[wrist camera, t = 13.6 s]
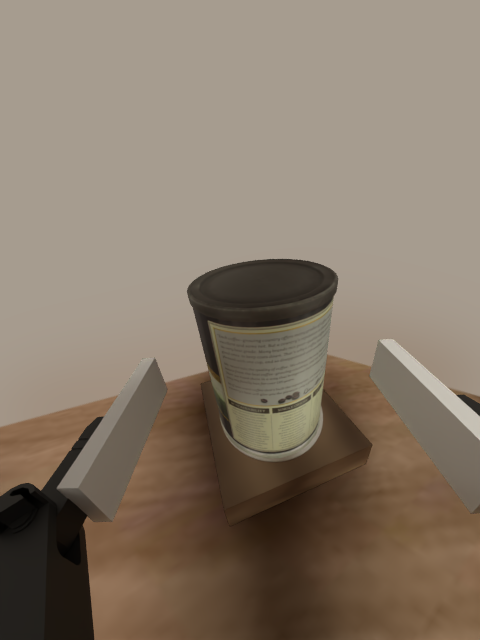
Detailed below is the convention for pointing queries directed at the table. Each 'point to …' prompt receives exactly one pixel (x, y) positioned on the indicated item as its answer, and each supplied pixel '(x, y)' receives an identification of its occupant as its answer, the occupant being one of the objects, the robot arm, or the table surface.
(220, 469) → the walnut pedestal
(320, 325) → the coffee can
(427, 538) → the table surface
